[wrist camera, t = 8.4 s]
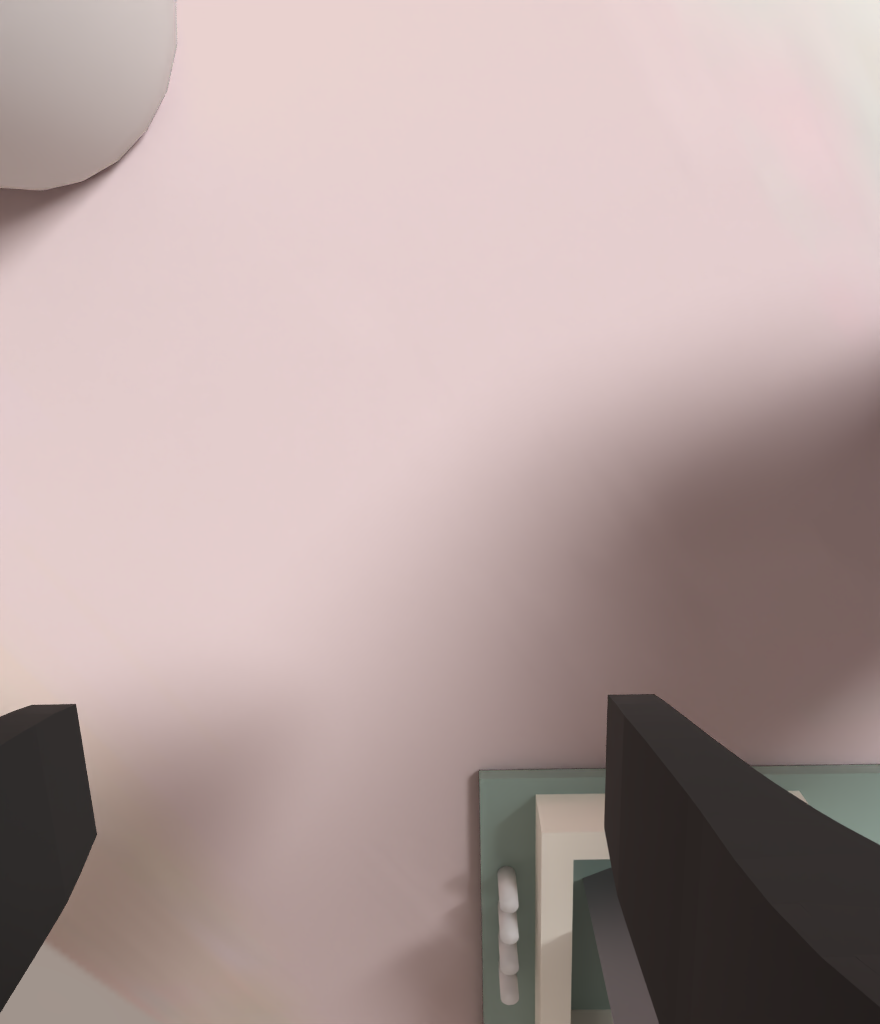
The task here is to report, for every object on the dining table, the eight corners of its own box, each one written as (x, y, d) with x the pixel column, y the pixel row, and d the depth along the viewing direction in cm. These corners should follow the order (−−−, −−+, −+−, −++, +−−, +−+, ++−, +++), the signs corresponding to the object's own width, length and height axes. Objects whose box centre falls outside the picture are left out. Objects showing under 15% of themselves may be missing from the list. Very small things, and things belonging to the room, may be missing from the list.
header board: (926, 763, 22) (992, 830, 19) (887, 1030, 24) (941, 1123, 22) (478, 770, 22) (482, 837, 20) (483, 1033, 25) (487, 1126, 22)
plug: (684, 839, 22) (785, 1080, 15) (734, 949, 23) (849, 1222, 16) (582, 878, 23) (636, 1129, 16) (635, 985, 24) (708, 1265, 17)
